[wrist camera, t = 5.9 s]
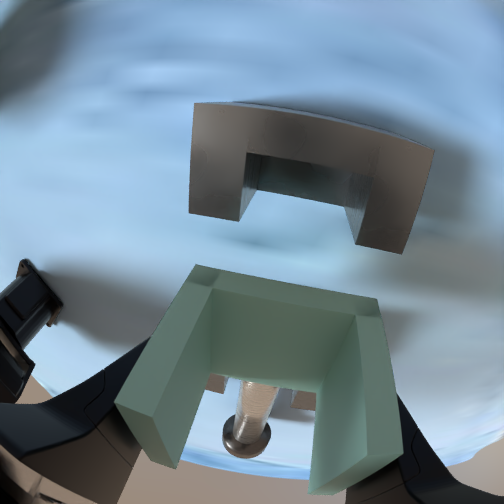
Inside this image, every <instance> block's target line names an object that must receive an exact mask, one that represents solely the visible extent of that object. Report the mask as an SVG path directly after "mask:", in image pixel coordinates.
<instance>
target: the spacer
mask: <svg viewBox="0 0 504 504" xmlns="http://www.w3.org/2000/svg"><path fill="white" fill-rule="evenodd" d="M210 373H214V374H218V375H222V376H226V377H231V378H235V379H239V380H244V381H249V382H254V383H259V384H264V385H269V386H275V387H281V388H287V389H293V390H299V391H306V392H314V393H316V411H315V426H314V438H313V450H312V460H311V470H310V479H309V487H308V494H313V495H334V494H336V493H338V492H340V491H342V490H344V489H346V488H348V487H350V486H352V485H354V484H356V483H357V482H359V481H361V480H363V479H364V478H366V477H368V476H370V475H371V474H373V473H375V472H376V471H378V470H379V469H381V468H383V467H384V466H386V465H387V464H389V463H390V462H392V461H393V460H395V459H396V458H398V457H399V456H401V455H402V454H403V443H402V433H401V424H400V415H399V408H398V401H397V394H396V388H395V382H394V376H393V370H392V365H391V360H390V355H389V350H388V345H387V340H386V335H385V331H384V327H383V322H382V318H381V314H380V310H379V306H378V302H377V299H375V298H369V297H363V296H357V295H351V294H346V293H340V292H335V291H329V290H323V289H318V288H313V287H307V286H302V285H296V284H291V283H286V282H281V281H275V280H270V279H265V278H260V277H255V276H250V275H245V274H240V273H235V272H230V271H225V270H220V269H215V268H210V267H206V266H201V265H195V266H194V268H193V270H192V271H191V273H190V274H189V276H188V277H187V279H186V281H185V282H184V284H183V285H182V287H181V289H180V290H179V292H178V293H177V295H176V297H175V298H174V300H173V302H172V303H171V305H170V306H169V308H168V310H167V311H166V313H165V315H164V316H163V318H162V320H161V321H160V323H159V325H158V326H157V328H156V330H155V331H154V333H153V335H152V336H151V338H150V340H149V341H148V343H147V345H146V346H145V348H144V350H143V352H142V353H141V355H140V357H139V358H138V360H137V362H136V364H135V365H134V367H133V369H132V371H131V372H130V374H129V376H128V378H127V379H126V381H125V383H124V385H123V387H122V388H121V390H120V392H119V394H118V396H117V397H116V399H115V401H114V403H115V405H116V406H117V408H118V410H119V412H120V413H121V415H122V417H123V419H124V420H125V422H126V424H127V425H128V427H129V428H130V430H131V432H132V433H133V435H134V436H135V438H136V439H137V441H138V443H139V444H140V446H141V447H142V449H143V450H144V451H145V453H146V454H147V456H148V457H149V459H150V460H151V461H153V462H156V463H159V464H161V465H164V466H167V467H170V468H173V469H176V468H177V465H178V463H179V460H180V457H181V454H182V452H183V449H184V446H185V443H186V440H187V438H188V435H189V432H190V429H191V426H192V424H193V421H194V418H195V415H196V412H197V410H198V407H199V404H200V401H201V398H202V396H203V393H204V390H205V387H206V384H207V382H208V379H209V376H210Z"/></svg>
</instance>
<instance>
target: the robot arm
mask: <svg viewBox="0 0 504 504" xmlns="http://www.w3.org/2000/svg"><path fill="white" fill-rule="evenodd" d="M62 307H63V304H62V303H61V301H60V300H59V299H58V298H57V297H56V296H55V295H54V294H53V293H52V292H51V290H50V289H49V288H48V287H47V286H46V285H45V284H44V283H43V281H42V280H41V279H40V278H39V277H38V276H37V274H36V273H35V272H34V271H33V270H32V268H31V267H30V266H29V265H28V263H27V262H26V261H25V260H24V259H22V260H21V261H20V263H19V267H18V271H17V275H16V279H15V280H14V281H13V282H12V283H11V284H10V285H8V286H7V287H6V288H5V289H4V290H3V291H2V292H1V293H0V504H93V503H94V502H95V503H97V504H117V502H118V500H119V498H120V495H121V493H122V491H123V489H124V487H125V484H126V482H127V480H128V478H129V475H130V473H131V471H132V469H133V468H132V467H134V464H135V462H136V460H137V458H138V456H139V454H140V451H141V449H142V447H141V446H140V444H139V443H138V441H137V439H136V438H135V436H134V435H133V433H132V432H131V430H130V428H129V427H128V425H127V424H126V422H125V420H124V419H123V417H122V415H121V413H120V412H119V410H118V408H117V406H116V405H115V403H114V401H115V399H116V397H117V396H118V394H119V392H120V390H121V388H122V387H123V385H124V383H125V381H126V379H127V378H128V376H129V374H130V372H131V371H132V369H133V367H134V365H135V364H136V362H137V360H138V358H139V357H140V355H141V353H142V352H143V350H144V348H145V346H146V345H147V343H148V341H149V340H150V338H151V337H149V338H148V339H146V340H145V341H144V342H142V343H141V344H139V345H138V346H136V347H135V348H133V349H132V350H130V351H129V352H128V353H126V354H125V355H123V356H122V357H120V358H119V359H117V360H116V361H114V362H113V363H112V364H110V365H109V366H107V367H106V368H104V370H101V371H100V372H98V373H97V374H95V375H94V376H92V377H91V378H89V379H87V380H86V381H84V382H82V383H81V384H79V385H77V386H75V387H73V388H71V389H69V390H67V391H65V392H64V393H62V394H60V395H58V396H56V397H54V398H52V399H50V400H47V401H45V402H42V403H38V404H15V403H16V402H17V400H18V399H19V398H20V396H21V394H22V392H23V390H24V388H25V385H26V383H27V381H28V379H29V377H30V375H31V373H32V371H33V369H34V367H35V363H34V362H33V361H32V360H31V359H30V358H29V357H28V356H27V354H26V353H25V352H24V351H23V350H24V349H25V347H26V346H27V345H28V344H29V343H30V341H31V340H32V339H33V338H34V337H35V335H36V334H37V333H38V332H39V331H40V330H41V329H42V327H43V326H44V325H45V324H46V325H47V326H48V327H51V326H52V325H53V323H54V321H55V319H56V317H57V316H58V314H59V312H60V310H61V309H62ZM396 394H397V393H396ZM397 401H398V408H399V415H400V424H401V433H402V443H403V454H402V455H401V456H399V457H398V458H396V459H395V460H393V461H392V462H390V463H389V464H387V465H386V466H384V467H383V468H381V469H379V470H378V471H376V472H375V473H373V474H371V475H370V476H368V477H366V478H364V479H363V480H361V481H359V482H357V483H356V484H354V485H352V486H350V487H348V488H347V490H346V502H345V504H504V496H497V495H493V494H490V493H487V492H484V491H481V490H479V489H476V488H473V487H470V486H467V485H465V484H462V483H461V482H459V481H458V480H456V479H455V478H454V477H453V476H452V474H451V473H450V472H449V471H448V469H447V468H446V467H445V465H444V464H443V463H442V461H441V460H440V459H439V457H438V456H437V455H436V453H435V452H434V451H433V449H432V448H431V446H430V445H429V443H428V442H427V440H426V439H425V437H424V436H423V434H422V432H421V431H420V429H419V428H418V426H417V424H416V423H415V421H414V420H413V418H412V416H411V415H410V413H409V412H408V410H407V408H406V407H405V405H404V404H403V402H402V401H401V399H400V397H399V396H398V394H397Z"/></svg>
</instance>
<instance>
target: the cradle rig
mask: <svg viewBox="0 0 504 504" xmlns="http://www.w3.org/2000/svg"><path fill="white" fill-rule="evenodd" d="M433 155H434V150H433V149H431V148H429V147H426V146H424V145H422V144H420V143H417V142H415V141H413V140H410V139H408V138H405V137H403V136H401V135H398V134H396V133H392V132H389V131H386V130H382V129H379V128H375V127H372V126H368V125H364V124H360V123H356V122H352V121H348V120H344V119H339V118H335V117H330V116H326V115H321V114H316V113H310V112H305V111H299V110H293V109H287V108H280V107H273V106H266V105H257V104H248V103H238V102H206V103H194V113H193V127H192V142H191V160H190V183H189V213H191V214H197V215H203V216H209V217H215V218H220V219H226V220H232V221H237V222H239V221H240V219H241V217H242V215H243V214H244V212H245V210H246V208H247V206H248V205H249V203H250V201H251V199H252V198H253V196H254V194H255V192H256V191H257V190H261V191H267V192H272V193H278V194H283V195H289V196H294V197H299V198H305V199H310V200H315V201H320V202H324V203H329V204H334V205H339V206H343V207H344V208H345V211H346V214H347V218H348V221H349V224H350V228H351V231H352V235H353V238H354V242H355V244H356V245H361V246H365V247H370V248H375V249H379V250H384V251H388V252H393V253H397V254H402V253H403V250H404V247H405V245H406V242H407V239H408V237H409V234H410V231H411V228H412V225H413V223H414V220H415V217H416V214H417V211H418V208H419V205H420V201H421V198H422V195H423V192H424V188H425V185H426V181H427V178H428V174H429V170H430V167H431V163H432V159H433ZM228 378H229V377H226V376H222V375H218V374H214V373H210V376H209V379H208V382H207V384H206V387H205V390H209V391H213V392H217V393H221V394H224V391H225V387H226V384H227V381H228ZM290 407H291V408H298V409H306V410H313V411H316V393H314V392H306V391H299V390H292V398H291V406H290Z"/></svg>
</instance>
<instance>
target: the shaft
mask: <svg viewBox="0 0 504 504" xmlns="http://www.w3.org/2000/svg"><path fill="white" fill-rule="evenodd" d="M279 388H280V387H275V386H269V385H264V384H259V383H254V382H249V381H244V380H241V385H240V391H239V397H238V403H237V409H236V414H235V415H233V416H231V417H230V418H229V419H228V420H227V421H226V422H225V424H224V427H223V435H222V441H223V445H224V447H225V448H226V450H227V451H228V452H229V453H230V454H232V455H234V456H236V457H239V458H246V459H247V458H253V457H256V456H258V455H260V454H261V453H262V452H263V451H264V450H265V448H266V446H267V444H268V442H269V440H270V438H271V429H270V426H269V424H268V423H267V419H268V417H269V414H270V412H271V409H272V407H273V404H274V401H275V399H276V396H277V393H278V391H279Z"/></svg>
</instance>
